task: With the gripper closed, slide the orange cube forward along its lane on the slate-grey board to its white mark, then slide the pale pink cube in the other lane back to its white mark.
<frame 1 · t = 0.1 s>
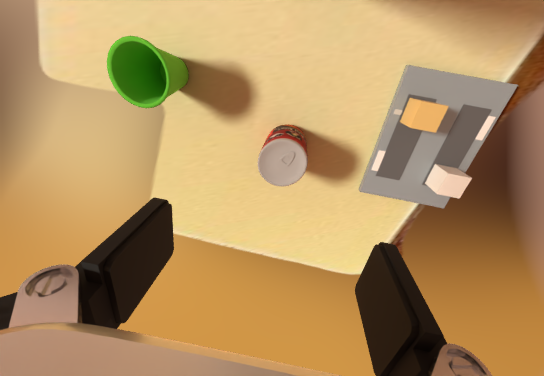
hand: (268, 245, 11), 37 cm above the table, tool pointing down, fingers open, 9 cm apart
switch board: (425, 143, 43), on the table
pale pink cube: (446, 180, 42), point 4 cm above the table, slide at 10.0 cm
orange cube: (422, 114, 38), point 4 cm above the table, slide at 0.0 cm
cup: (176, 72, 43), on the table
canned food: (286, 143, 46), on the table
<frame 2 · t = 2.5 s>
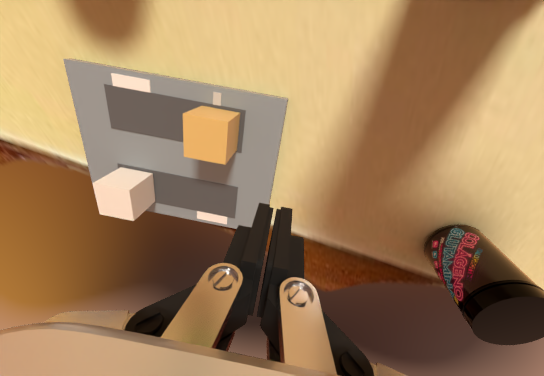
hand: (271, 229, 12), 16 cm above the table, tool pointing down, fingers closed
switch board: (181, 154, 29), on the table
pale pink cube: (127, 193, 28), point 4 cm above the table, slide at 10.0 cm
orange cube: (213, 133, 23), point 4 cm above the table, slide at 0.0 cm
supplement container: (449, 242, 30), on the table
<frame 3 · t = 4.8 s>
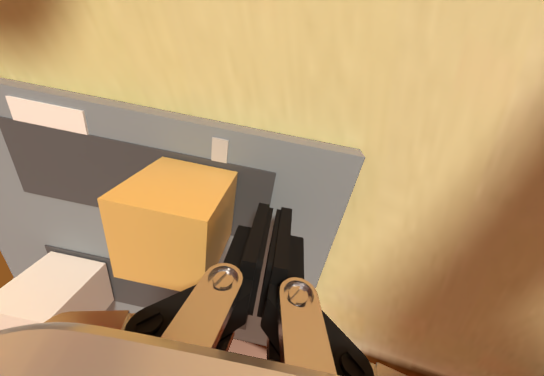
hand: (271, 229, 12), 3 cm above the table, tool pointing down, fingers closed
switch board: (155, 231, 17), on the table
pale pink cube: (56, 303, 16), point 4 cm above the table, slide at 10.0 cm
orange cube: (181, 219, 11), point 4 cm above the table, slide at 1.5 cm, touching gripper
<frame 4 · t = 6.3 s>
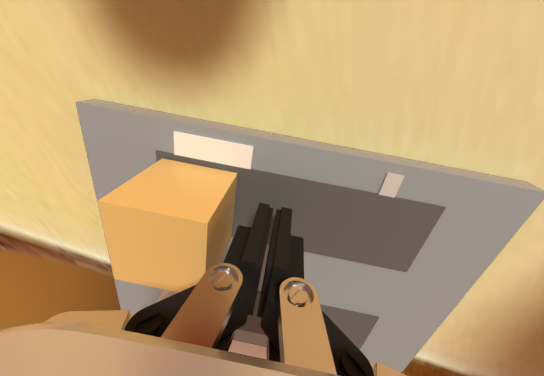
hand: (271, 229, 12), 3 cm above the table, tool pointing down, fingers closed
switch board: (277, 258, 16), on the table
pale pink cube: (185, 333, 15), point 4 cm above the table, slide at 10.0 cm
orange cube: (181, 221, 11), point 4 cm above the table, slide at 10.1 cm, touching gripper
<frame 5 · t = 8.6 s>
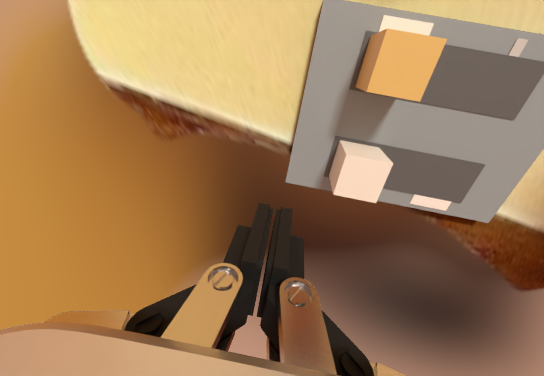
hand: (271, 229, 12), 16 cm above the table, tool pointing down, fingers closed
switch board: (414, 125, 24), on the table
pale pink cube: (357, 170, 23), point 4 cm above the table, slide at 10.0 cm
orange cube: (394, 66, 19), point 4 cm above the table, slide at 10.0 cm
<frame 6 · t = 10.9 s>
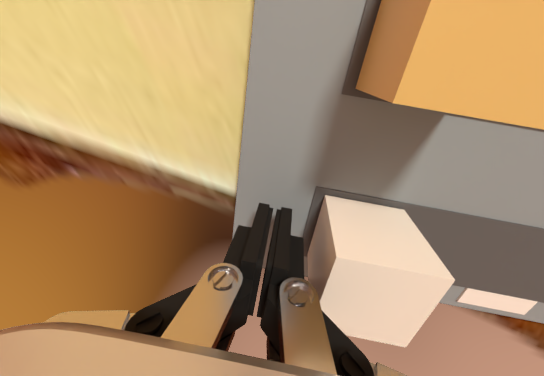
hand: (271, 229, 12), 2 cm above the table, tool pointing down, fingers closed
switch board: (474, 164, 12), on the table
pale pink cube: (361, 263, 11), point 4 cm above the table, slide at 10.0 cm, touching gripper
orange cube: (464, 31, 7), point 4 cm above the table, slide at 10.0 cm
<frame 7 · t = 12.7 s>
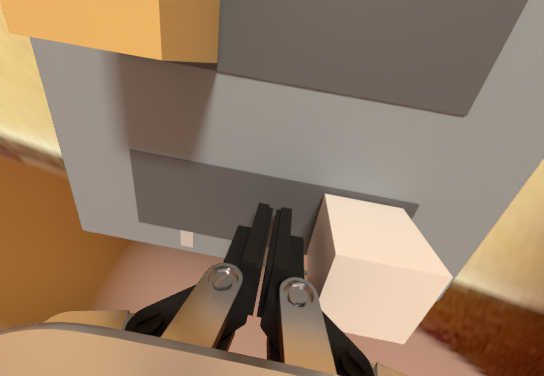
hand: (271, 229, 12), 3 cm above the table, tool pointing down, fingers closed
switch board: (281, 128, 12), on the table
pale pink cube: (360, 261, 11), point 4 cm above the table, slide at 0.2 cm, touching gripper
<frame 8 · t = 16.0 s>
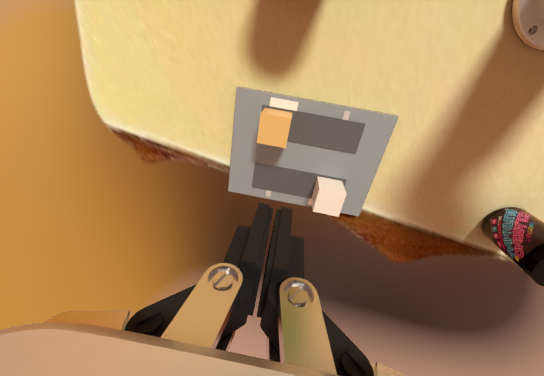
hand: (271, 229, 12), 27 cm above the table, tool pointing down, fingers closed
switch board: (303, 155, 38), on the table
pale pink cube: (327, 195, 37), point 4 cm above the table, slide at 0.2 cm
orange cube: (275, 127, 33), point 4 cm above the table, slide at 10.0 cm
supplement container: (501, 221, 40), on the table
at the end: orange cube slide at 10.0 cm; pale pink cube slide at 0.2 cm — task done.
